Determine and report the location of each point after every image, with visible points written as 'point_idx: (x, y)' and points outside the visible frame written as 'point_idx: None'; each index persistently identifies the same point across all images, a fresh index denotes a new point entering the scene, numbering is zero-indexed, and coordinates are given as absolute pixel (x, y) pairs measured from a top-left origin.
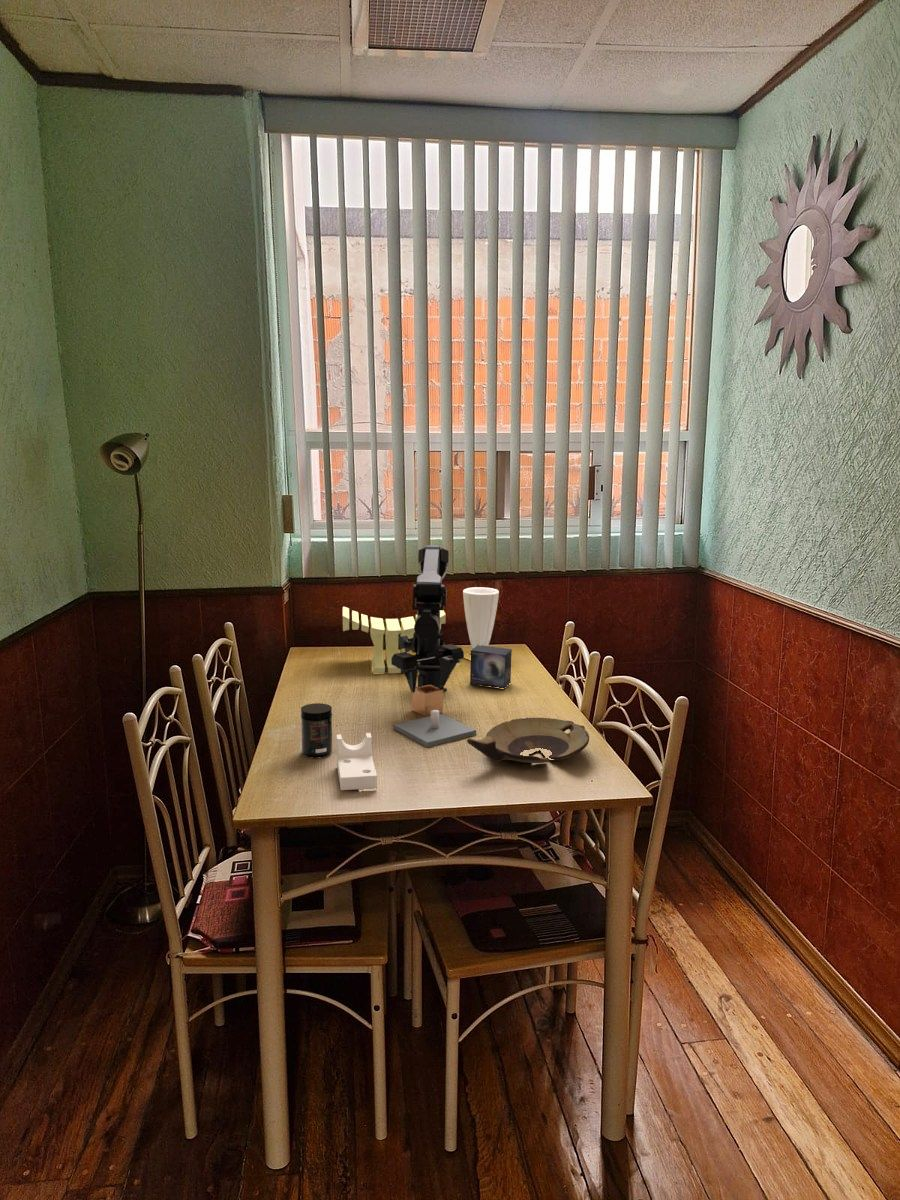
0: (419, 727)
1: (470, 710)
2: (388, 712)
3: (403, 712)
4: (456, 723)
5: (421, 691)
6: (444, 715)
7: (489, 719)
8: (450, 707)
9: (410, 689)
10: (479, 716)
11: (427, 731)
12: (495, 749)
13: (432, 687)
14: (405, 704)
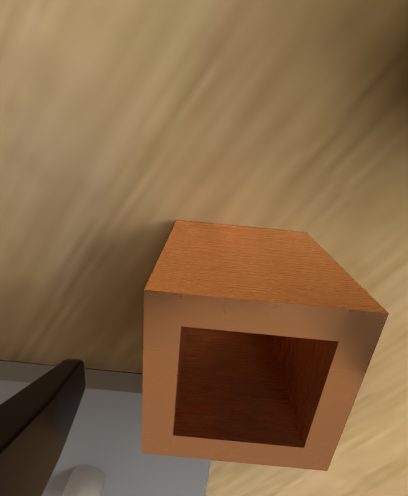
0: None
1: (399, 390)
2: (35, 152)
3: (115, 211)
4: (185, 494)
5: (152, 406)
6: None
7: (353, 482)
8: None
9: (48, 374)
10: (356, 449)
11: None
12: None
13: (323, 379)
14: (218, 89)
